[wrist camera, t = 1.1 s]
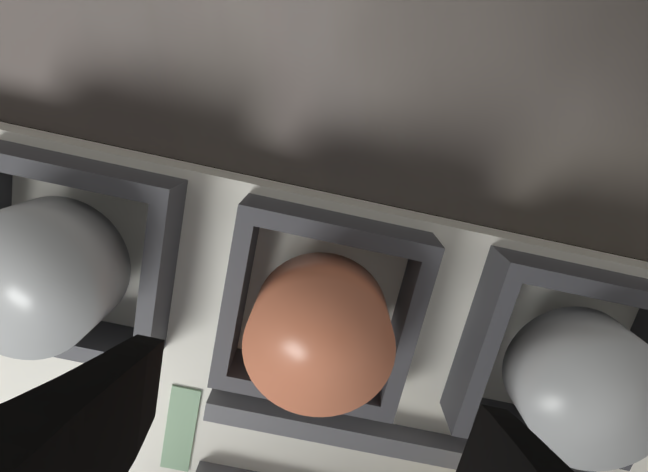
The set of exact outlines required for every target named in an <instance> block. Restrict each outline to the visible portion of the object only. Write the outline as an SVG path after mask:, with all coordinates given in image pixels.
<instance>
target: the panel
mask: <svg viewBox="0 0 648 472" xmlns="http://www.w3.org/2000/svg"><path fill="white" fill-rule="evenodd" d="M44 196H62V197H69V198H72V199H76V200H79V201H81V202H84V203H86V204H88V205H90V206H92V207H93V208H95V209H96V210H98V211H99V212H101V213H102V214H103V215H104V216H105V217H106V218H108V219H109V220H110V221H111V223H112V224H113V225H114V226H115V227H116V229H117V230H118V232H119V233H120V234H121V236H122V238H123V240H124V242H125V244H126V247H127V250H128V253H129V257H130V265H131V276H130V281H129V285H128V288H127V291H126V293H125V295H124V297H123V299H122V300H121V301H120V303H119V304H118V305H117V306H116V307H115V308H114V309H113V310H112V311H111V312H110V313H109V314H108V315H107V316H106V317H105V318H103V319H102V320H101V321H100V322H99V323H98V324H97V325H96V326H95V327H94V328H93V329H92V330H91V331H90V332H88V333H87V334H86V335H85V336H84V337H83V338H82V339H81V340H80V341H79V342H78V343H77V344H76V345H74V346H73V347H72V348H70V349H69V350H67V351H65V352H63V353H62V354H59V355H57V356H54V357H51V358H46V359H40V360H20V359H13V358H9V357H6V356H2V355H0V404H1V403H3V402H5V401H8V400H10V399H12V398H14V397H16V396H18V395H21V394H23V393H25V392H27V391H29V390H31V389H33V388H35V387H37V386H39V385H42V384H44V383H46V382H48V381H50V380H52V379H54V378H56V377H58V376H60V375H62V374H64V373H66V372H68V371H70V370H72V369H74V368H76V367H78V366H79V365H81V364H83V363H85V362H87V361H89V360H91V359H93V358H94V357H96V356H98V355H100V354H102V353H104V352H105V351H107V350H109V349H111V348H113V347H114V346H116V345H118V344H120V343H122V342H124V341H125V340H127V339H129V338H131V337H133V336H135V335H137V334H139V335H144V336H149V337H153V338H158V339H163V340H165V343H164V350H163V358H162V366H161V374H160V382H159V390H158V398H157V406H156V414H155V418H154V420H153V422H152V425H151V427H150V429H149V431H148V434H147V436H146V438H145V440H144V443H143V445H142V447H141V449H140V451H139V453H138V455H137V458H136V460H135V461H134V463H133V465H132V466H131V468H130V470H129V471H128V472H456V470H457V467H458V464H459V461H460V459H461V456H462V453H463V451H464V448H465V445H466V442H467V440H468V437H469V434H470V432H471V429H472V426H473V424H474V421H475V418H476V415H477V413H478V410H479V407H480V405H481V404H483V405H488V406H492V407H497V408H502V409H507V410H508V411H510V412H511V413H512V414H513V415H514V416H516V417H517V418H518V419H519V420H520V421H521V422H522V423H523V424H525V425H526V423H525V421H524V420H523V418H522V416H521V415H520V413H519V411H518V410H517V408H516V406H515V405H514V403H513V402H512V400H511V398H510V397H509V395H508V393H507V391H506V389H505V386H504V383H503V377H502V364H503V359H504V355H505V352H506V350H507V348H508V345H509V344H510V342H511V340H512V339H513V337H514V336H515V335H516V334H517V332H518V331H519V330H520V329H521V328H522V327H523V326H525V325H526V324H527V323H528V322H530V321H531V320H533V319H534V318H536V317H537V316H539V315H541V314H544V313H546V312H548V311H551V310H554V309H558V308H563V307H572V306H578V307H588V308H593V309H596V310H599V311H602V312H604V313H606V314H608V315H609V316H611V317H613V318H614V319H615V320H617V321H618V322H619V323H621V324H622V325H623V326H625V327H626V328H627V329H629V330H630V331H631V332H633V333H634V334H635V335H636V336H638V337H639V338H640V339H642V340H643V341H644V342H646V343H647V344H648V262H646V261H641V260H637V259H632V258H627V257H623V256H618V255H614V254H609V253H604V252H600V251H595V250H591V249H586V248H581V247H577V246H572V245H567V244H563V243H558V242H554V241H549V240H544V239H540V238H535V237H531V236H526V235H521V234H517V233H512V232H507V231H503V230H498V229H494V228H489V227H484V226H480V225H475V224H471V223H466V222H461V221H457V220H452V219H447V218H443V217H438V216H434V215H429V214H424V213H420V212H415V211H410V210H406V209H401V208H397V207H392V206H387V205H383V204H378V203H374V202H369V201H364V200H360V199H355V198H350V197H346V196H341V195H337V194H332V193H327V192H323V191H318V190H314V189H309V188H304V187H300V186H295V185H290V184H286V183H281V182H277V181H272V180H267V179H263V178H258V177H254V176H249V175H244V174H240V173H235V172H230V171H226V170H221V169H217V168H212V167H207V166H203V165H198V164H194V163H189V162H184V161H180V160H175V159H170V158H166V157H161V156H157V155H152V154H147V153H143V152H138V151H134V150H129V149H124V148H120V147H115V146H110V145H106V144H101V143H97V142H92V141H87V140H83V139H78V138H74V137H69V136H64V135H60V134H55V133H50V132H46V131H41V130H37V129H32V128H27V127H23V126H18V125H14V124H9V123H4V122H0V209H3V208H6V207H9V206H12V205H15V204H18V203H22V202H25V201H28V200H31V199H35V198H39V197H44ZM316 252H324V253H333V254H337V255H341V256H344V257H347V258H349V259H351V260H353V261H355V262H357V263H358V264H360V265H361V266H363V267H364V268H365V269H366V270H367V271H368V272H369V273H370V274H371V275H372V276H373V277H374V278H375V280H376V281H377V282H378V284H379V286H380V288H381V290H382V292H383V295H384V298H385V301H386V305H387V309H388V313H389V316H390V320H391V324H392V328H393V331H394V336H395V342H396V357H395V362H394V366H393V369H392V372H391V375H390V376H389V378H388V380H387V382H386V384H385V385H384V386H383V388H382V389H381V390H380V391H379V392H378V394H377V395H376V396H375V397H373V398H372V399H371V400H370V401H369V402H367V403H366V404H364V405H363V406H361V407H359V408H357V409H355V410H353V411H351V412H348V413H345V414H342V415H337V416H331V417H309V416H303V415H299V414H295V413H292V412H289V411H287V410H284V409H283V408H281V407H279V406H277V405H275V404H274V403H272V402H271V401H270V400H268V399H267V398H266V397H265V396H264V395H263V394H262V393H261V392H260V391H259V390H258V389H257V388H256V386H255V385H254V383H253V382H252V381H251V379H250V377H249V375H248V373H247V371H246V368H245V365H244V361H243V355H242V340H243V334H244V330H245V326H246V324H247V321H248V319H249V316H250V314H251V311H252V309H253V306H254V303H255V301H256V298H257V296H258V293H259V291H260V289H261V286H262V285H263V283H264V281H265V280H266V279H267V277H268V276H269V275H270V274H271V273H272V272H273V271H274V270H275V269H276V268H277V267H278V266H280V265H281V264H282V263H284V262H286V261H288V260H290V259H291V258H294V257H297V256H299V255H303V254H308V253H316ZM526 426H527V425H526ZM527 427H528V426H527ZM571 469H572V470H573V471H574V472H594V471H583V470H577V469H573V468H571ZM600 472H648V456H647V457H646V458H644V459H642V460H640V461H638V462H636V463H634V464H631V465H629V466H626V467H623V468H619V469H615V470H610V471H600Z"/></svg>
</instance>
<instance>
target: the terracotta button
mask: <svg viewBox="0 0 648 472" xmlns="http://www.w3.org/2000/svg"><path fill="white" fill-rule="evenodd" d="M242 355H243V361H244V365H245V368H246V371H247V373H248V375H249V377H250V379H251V381H252V382H253V383H254V385H255V386H256V388H257V389H258V390H259V391H260V392H261V393H262V394H263V395H264V396H265V397H266V398H267V399H268V400H270V401H271V402H272V403H274V404H275V405H277V406H279V407H281V408H283V409H284V410H287V411H289V412H292V413H295V414H299V415H303V416H309V417H331V416H337V415H342V414H345V413H348V412H351V411H353V410H355V409H357V408H359V407H361V406H363V405H364V404H366V403H367V402H369V401H370V400H371V399H372V398H373V397H375V396H376V395H377V394H378V392H379V391H380V390H381V389H382V388H383V386H384V385H385V384H386V382H387V380H388V378H389V376H390V375H391V372H392V369H393V366H394V362H395V357H396V342H395V336H394V331H393V328H392V324H391V320H390V316H389V313H388V309H387V305H386V301H385V298H384V295H383V292H382V290H381V288H380V286H379V284H378V282H377V281H376V280H375V278H374V277H373V276H372V275H371V274H370V273H369V272H368V271H367V270H366V269H365V268H364V267H363V266H361V265H360V264H358V263H357V262H355V261H353V260H351V259H349V258H347V257H344V256H341V255H337V254H333V253H324V252H316V253H308V254H303V255H299V256H297V257H294V258H291V259H290V260H288V261H286V262H284V263H282V264H281V265H280V266H278V267H277V268H276V269H275V270H274V271H273V272H272V273H271V274H270V275H269V276H268V277H267V279H266V280H265V281H264V283H263V285H262V286H261V289H260V291H259V293H258V296H257V298H256V301H255V303H254V306H253V309H252V311H251V314H250V316H249V319H248V321H247V324H246V326H245V330H244V334H243V340H242Z"/></svg>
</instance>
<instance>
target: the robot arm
mask: <svg viewBox="0 0 648 472" xmlns="http://www.w3.org/2000/svg"><path fill="white" fill-rule="evenodd" d="M164 343H165V340H163V339H158V338H153V337H149V336H144V335H139V334H137V335H135V336H133V337H131V338H129V339H127V340H125V341H124V342H122V343H120V344H118V345H116V346H114V347H113V348H111V349H109V350H107V351H105V352H104V353H102V354H100V355H98V356H96V357H94V358H93V359H91V360H89V361H87V362H85V363H83V364H81V365H79V366H78V367H76V368H74V369H72V370H70V371H68V372H66V373H64V374H62V375H60V376H58V377H56V378H54V379H52V380H50V381H48V382H46V383H44V384H42V385H39V386H37V387H35V388H33V389H31V390H29V391H27V392H25V393H23V394H21V395H18V396H16V397H14V398H12V399H10V400H8V401H5V402H3V403H1V404H0V472H128V471H129V470H130V468H131V466H132V465H133V463H134V461H135V460H136V458H137V455H138V453H139V451H140V449H141V447H142V445H143V443H144V440H145V438H146V436H147V434H148V431H149V429H150V427H151V425H152V422H153V420H154V418H155V414H156V406H157V398H158V390H159V382H160V374H161V366H162V358H163V350H164ZM456 472H574V471H573V470H572V469H571V468H570V467H569V466H568V465H567V464H566V463H565V462H564V461H563V460H562V459H561V458H559V457H558V456H557V455H556V454H555V453H554V452H553V451H552V450H551V449H550V448H549V447H548V446H547V445H546V444H545V443H544V442H543V441H542V440H541V439H540V438H538V437H537V436H536V435H535V434H534V433H533V432H532V431H531V430H530V429H529V428H528V427H527V426H526V425H525V424H523V423H522V422H521V421H520V420H519V419H518V418H517V417H516V416H514V415H513V414H512V413H511V412H510V411H508V410H507V409H502V408H497V407H492V406H488V405H483V404H481V405H480V407H479V410H478V413H477V415H476V418H475V421H474V424H473V426H472V429H471V432H470V434H469V437H468V440H467V442H466V445H465V448H464V451H463V453H462V456H461V459H460V461H459V464H458V467H457V470H456Z"/></svg>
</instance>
